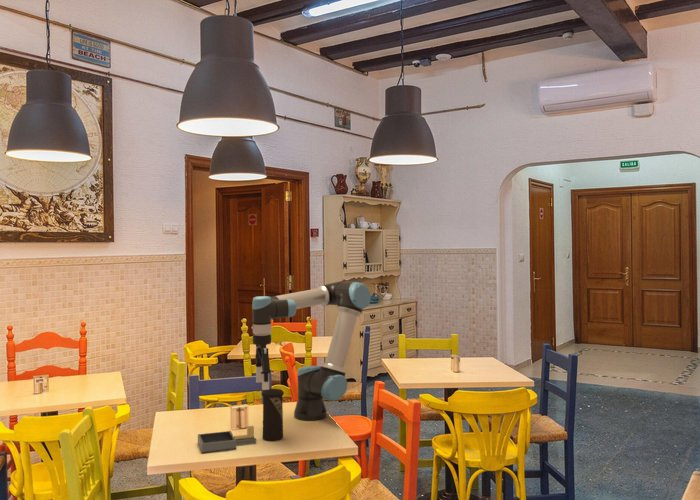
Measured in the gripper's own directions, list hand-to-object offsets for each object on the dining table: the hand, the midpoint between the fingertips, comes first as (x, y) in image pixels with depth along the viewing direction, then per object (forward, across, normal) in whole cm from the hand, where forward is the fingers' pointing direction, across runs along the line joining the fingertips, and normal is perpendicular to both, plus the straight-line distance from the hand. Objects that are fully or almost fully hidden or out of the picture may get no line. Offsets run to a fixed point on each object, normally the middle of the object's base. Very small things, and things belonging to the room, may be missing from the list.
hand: (262, 385), depth 252 cm
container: (+22, +2, +4) cm, 22 cm away
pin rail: (+21, +4, -8) cm, 23 cm away
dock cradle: (+21, +5, -19) cm, 29 cm away
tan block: (+20, +4, -8) cm, 22 cm away
